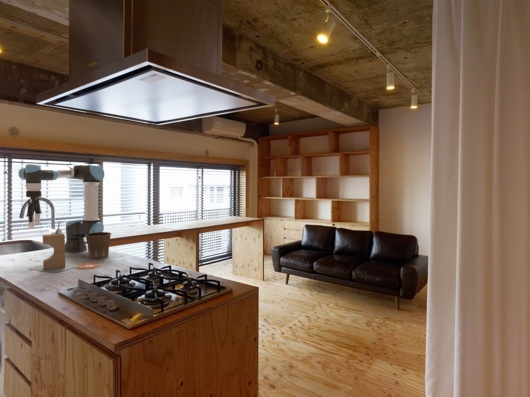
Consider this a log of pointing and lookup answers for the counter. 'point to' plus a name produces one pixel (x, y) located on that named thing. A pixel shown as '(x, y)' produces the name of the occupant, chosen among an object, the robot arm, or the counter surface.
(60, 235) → the decorative block
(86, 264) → the coaster
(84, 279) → the counter surface
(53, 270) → the tile
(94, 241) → the plant pot
